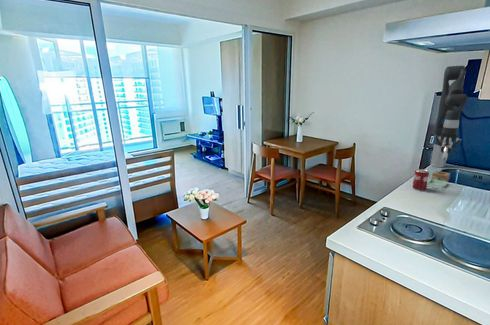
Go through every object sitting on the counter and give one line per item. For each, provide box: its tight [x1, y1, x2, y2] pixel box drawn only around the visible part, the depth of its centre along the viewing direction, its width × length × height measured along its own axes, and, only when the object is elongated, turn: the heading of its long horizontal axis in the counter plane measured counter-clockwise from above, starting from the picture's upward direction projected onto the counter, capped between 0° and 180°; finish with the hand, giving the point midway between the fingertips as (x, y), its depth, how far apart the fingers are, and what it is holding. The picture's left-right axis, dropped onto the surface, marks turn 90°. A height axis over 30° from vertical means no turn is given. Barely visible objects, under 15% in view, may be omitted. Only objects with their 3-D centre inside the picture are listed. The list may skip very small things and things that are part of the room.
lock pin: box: [442, 146, 449, 161], centre depth 167 cm, size 3×3×9 cm
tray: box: [427, 178, 449, 191], centre depth 164 cm, size 10×9×2 cm
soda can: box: [411, 168, 430, 192], centre depth 159 cm, size 7×7×12 cm
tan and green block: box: [430, 170, 451, 183], centre depth 171 cm, size 13×9×5 cm
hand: (445, 152), depth 167 cm, fingers closed on lock pin, 2 cm apart
